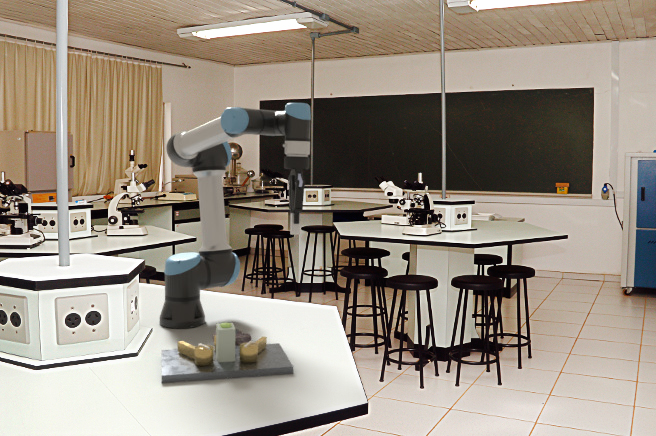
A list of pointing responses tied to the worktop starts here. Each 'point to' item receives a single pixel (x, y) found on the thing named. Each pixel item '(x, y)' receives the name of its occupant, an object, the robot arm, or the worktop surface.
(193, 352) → the knob
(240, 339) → the rock
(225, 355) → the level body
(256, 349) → the knob
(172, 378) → the grey knob board
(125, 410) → the worktop surface
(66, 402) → the worktop surface
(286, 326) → the worktop surface
